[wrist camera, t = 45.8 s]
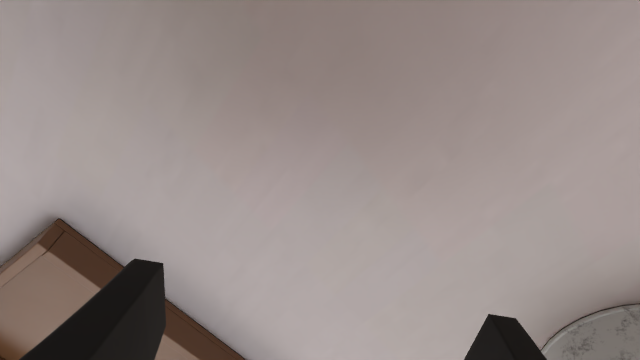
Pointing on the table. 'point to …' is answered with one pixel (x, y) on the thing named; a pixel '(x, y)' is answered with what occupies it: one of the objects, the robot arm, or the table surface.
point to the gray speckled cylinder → (599, 337)
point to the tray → (78, 297)
